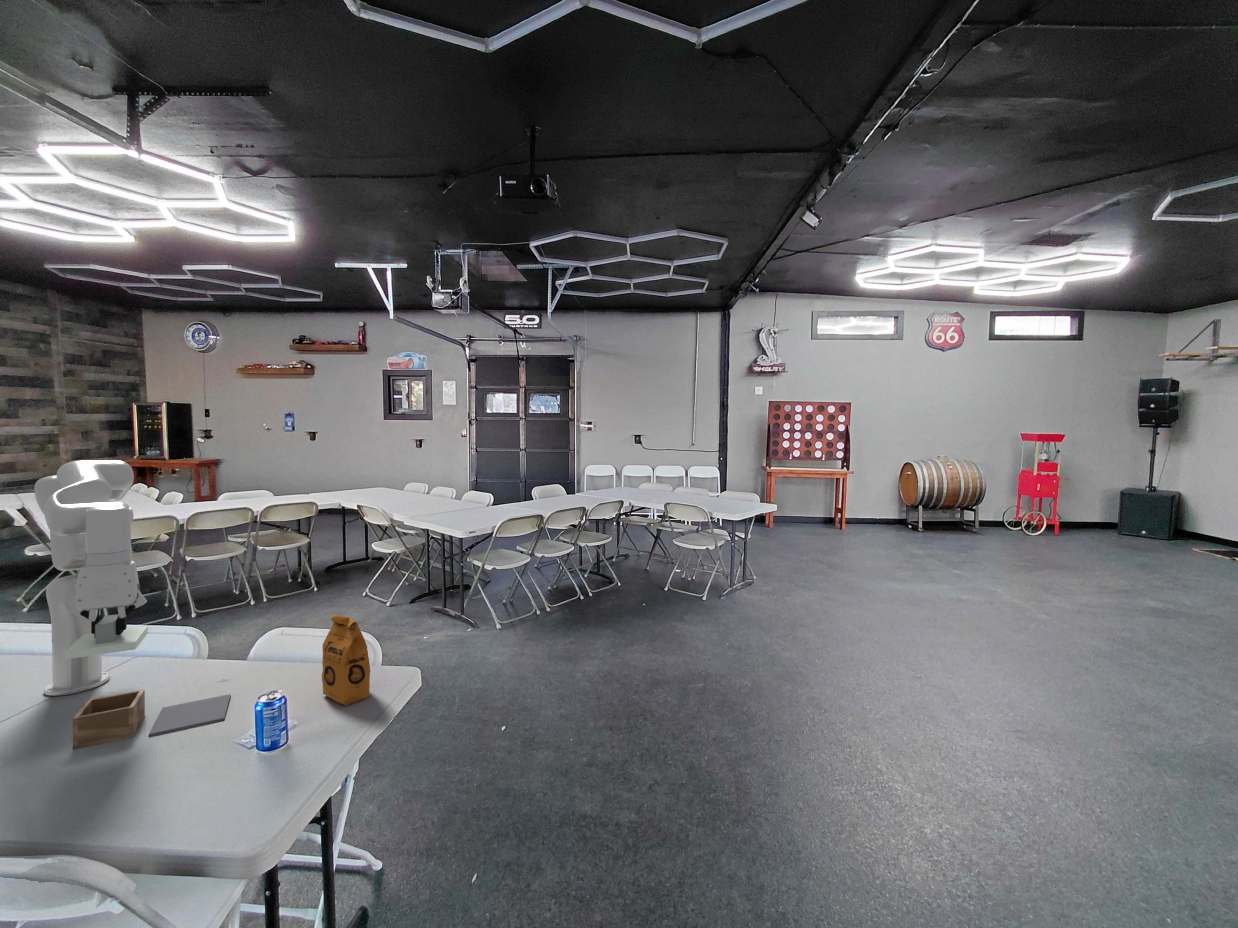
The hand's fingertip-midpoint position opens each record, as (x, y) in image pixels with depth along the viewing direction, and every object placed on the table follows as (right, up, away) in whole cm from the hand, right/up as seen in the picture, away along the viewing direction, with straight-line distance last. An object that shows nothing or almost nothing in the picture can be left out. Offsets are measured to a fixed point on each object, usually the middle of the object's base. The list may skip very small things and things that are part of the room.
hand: (109, 633), depth 118 cm
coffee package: (+46, -24, +19) cm, 55 cm away
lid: (0, -3, 0) cm, 3 cm away
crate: (0, -24, 0) cm, 24 cm away
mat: (+12, -24, +9) cm, 28 cm away
